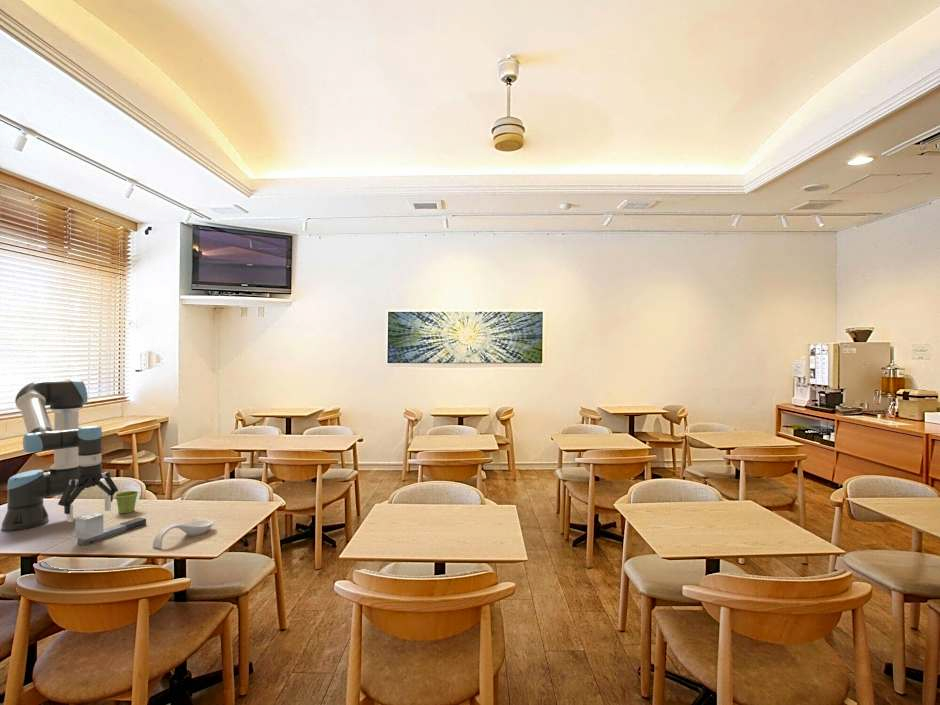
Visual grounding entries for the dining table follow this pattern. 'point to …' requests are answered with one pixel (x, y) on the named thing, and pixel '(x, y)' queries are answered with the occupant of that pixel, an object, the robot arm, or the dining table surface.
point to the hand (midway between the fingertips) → (89, 515)
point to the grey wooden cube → (88, 525)
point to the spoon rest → (188, 528)
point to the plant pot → (126, 501)
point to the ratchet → (115, 530)
